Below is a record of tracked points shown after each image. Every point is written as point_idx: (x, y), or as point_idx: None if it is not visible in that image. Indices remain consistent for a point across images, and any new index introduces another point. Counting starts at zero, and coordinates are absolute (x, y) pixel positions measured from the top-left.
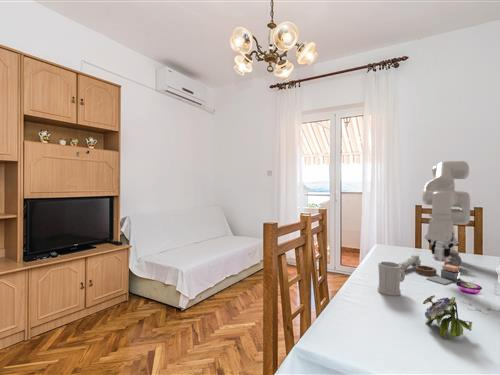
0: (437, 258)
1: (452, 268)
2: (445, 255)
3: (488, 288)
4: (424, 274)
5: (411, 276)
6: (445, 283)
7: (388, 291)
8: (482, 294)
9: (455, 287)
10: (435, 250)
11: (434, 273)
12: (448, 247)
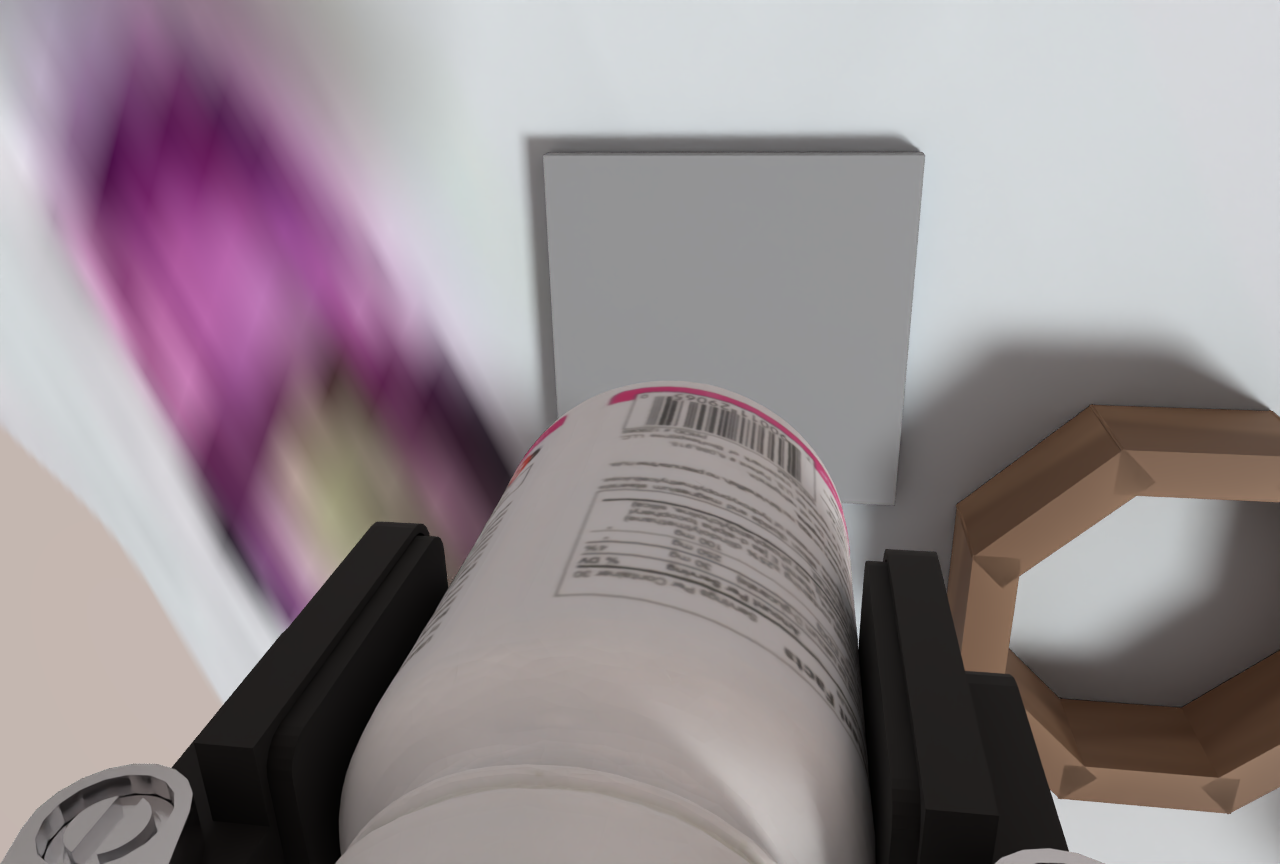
0: (671, 411)
1: None
2: (372, 539)
3: (185, 623)
4: (1087, 415)
5: (1255, 32)
6: (548, 198)
7: None
8: (33, 256)
9: (385, 202)
10: (752, 602)
11: (954, 595)
12: (34, 815)
